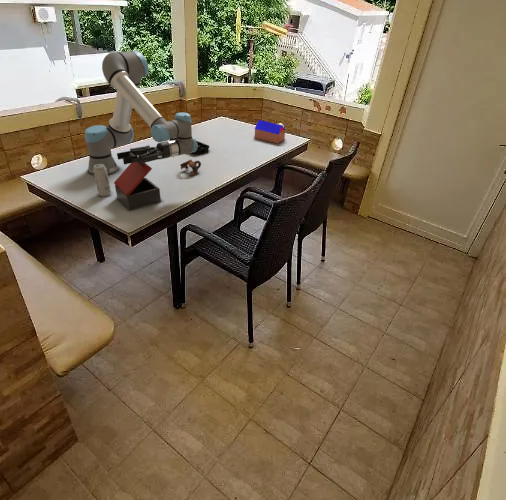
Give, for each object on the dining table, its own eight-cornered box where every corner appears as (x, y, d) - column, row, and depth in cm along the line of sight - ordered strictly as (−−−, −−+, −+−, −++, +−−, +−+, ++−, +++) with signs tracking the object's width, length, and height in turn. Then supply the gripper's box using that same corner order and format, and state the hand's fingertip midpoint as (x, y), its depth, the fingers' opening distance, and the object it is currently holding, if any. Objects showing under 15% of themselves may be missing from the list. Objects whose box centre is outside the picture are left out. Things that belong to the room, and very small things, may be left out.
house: (277, 143, 251) (278, 127, 245) (253, 137, 260) (254, 121, 253) (285, 139, 260) (286, 123, 253) (262, 134, 268) (263, 118, 261)
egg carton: (199, 156, 223) (199, 150, 220) (163, 146, 234) (162, 141, 232) (215, 149, 235) (215, 143, 233) (180, 139, 247) (180, 134, 245)
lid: (138, 158, 169) (126, 147, 163) (152, 168, 160) (140, 158, 154) (115, 184, 168) (102, 174, 162) (128, 196, 159) (115, 186, 153)
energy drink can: (109, 197, 172) (103, 168, 163) (97, 196, 172) (90, 168, 163) (112, 191, 177) (107, 163, 168) (100, 191, 176) (94, 163, 168)
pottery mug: (187, 177, 196) (181, 164, 193) (183, 178, 204) (176, 165, 202) (205, 169, 200) (199, 155, 197) (200, 170, 208) (194, 157, 206)
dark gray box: (147, 190, 181) (145, 177, 176) (160, 201, 171) (159, 188, 167) (117, 197, 172) (114, 184, 168) (129, 210, 163) (127, 196, 159)
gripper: (177, 163, 165) (130, 173, 152) (158, 151, 176) (113, 160, 164) (176, 147, 160) (128, 157, 148) (157, 136, 172) (110, 144, 159)
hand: (120, 158), depth 156 cm, fingers closed on lid, 6 cm apart
